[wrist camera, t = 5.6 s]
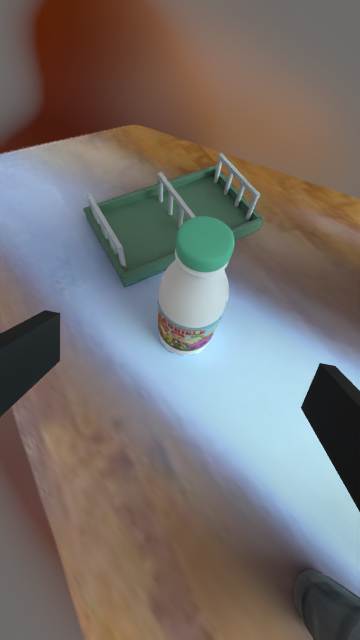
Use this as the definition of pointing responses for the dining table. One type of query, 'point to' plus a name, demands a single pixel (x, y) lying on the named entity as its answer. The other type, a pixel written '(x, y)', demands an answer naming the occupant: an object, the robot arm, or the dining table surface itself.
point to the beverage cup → (327, 607)
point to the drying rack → (168, 218)
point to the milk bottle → (195, 285)
